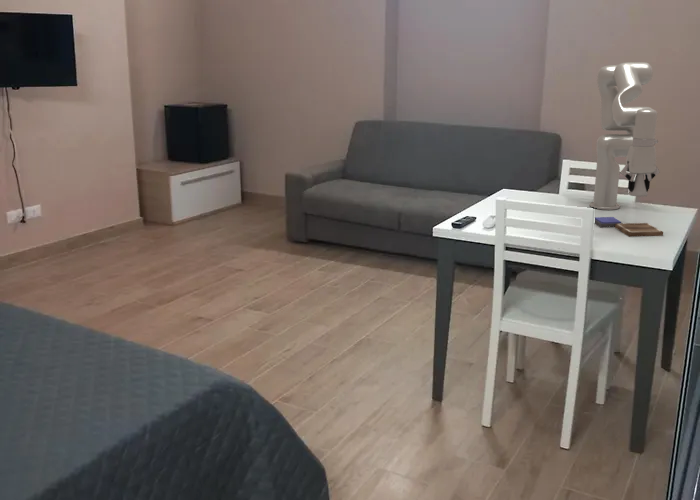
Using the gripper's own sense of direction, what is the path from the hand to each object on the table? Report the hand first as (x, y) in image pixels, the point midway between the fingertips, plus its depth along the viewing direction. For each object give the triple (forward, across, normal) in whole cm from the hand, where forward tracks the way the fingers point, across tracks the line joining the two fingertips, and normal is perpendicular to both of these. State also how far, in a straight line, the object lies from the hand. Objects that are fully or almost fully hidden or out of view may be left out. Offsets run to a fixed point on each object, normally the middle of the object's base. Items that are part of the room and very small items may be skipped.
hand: (638, 190), depth 271 cm
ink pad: (+16, +6, -10) cm, 20 cm away
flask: (+2, 0, 0) cm, 2 cm away
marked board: (+16, -1, +1) cm, 16 cm away
